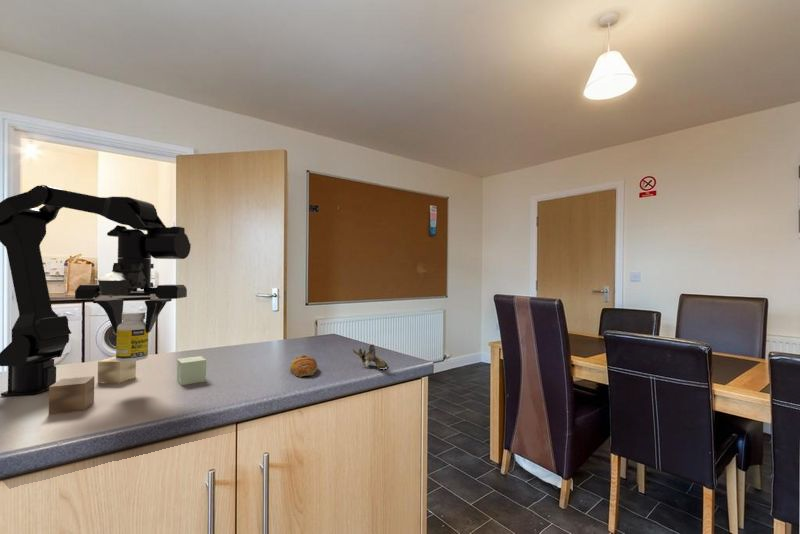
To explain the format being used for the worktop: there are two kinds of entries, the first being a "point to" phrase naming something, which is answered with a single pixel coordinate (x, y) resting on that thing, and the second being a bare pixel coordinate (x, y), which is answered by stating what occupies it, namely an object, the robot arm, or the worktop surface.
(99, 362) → the maple block
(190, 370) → the sage block
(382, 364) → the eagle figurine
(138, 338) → the supplement bottle
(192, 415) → the worktop surface
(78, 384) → the walnut block
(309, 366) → the pastry
